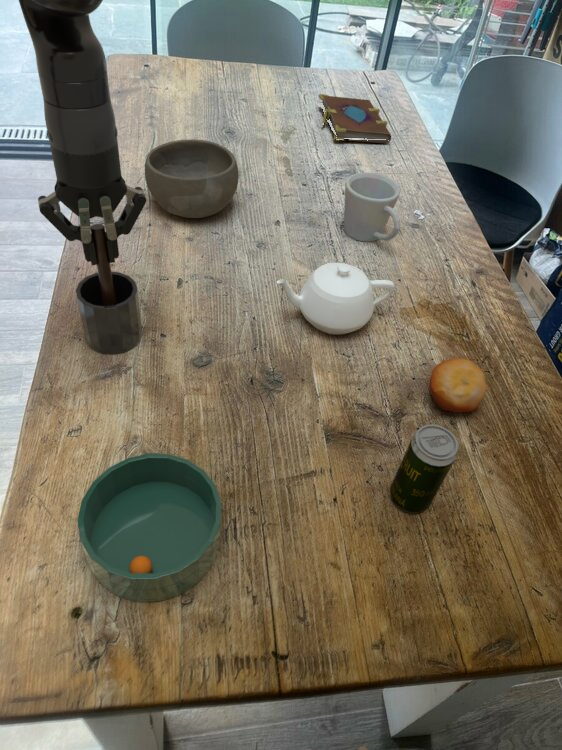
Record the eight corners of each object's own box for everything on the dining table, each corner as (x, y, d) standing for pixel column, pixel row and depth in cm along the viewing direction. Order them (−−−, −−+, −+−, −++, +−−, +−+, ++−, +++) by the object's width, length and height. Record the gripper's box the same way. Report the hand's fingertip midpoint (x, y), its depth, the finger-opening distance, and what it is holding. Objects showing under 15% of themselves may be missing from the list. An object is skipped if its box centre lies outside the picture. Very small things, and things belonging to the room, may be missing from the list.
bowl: (143, 184, 120) (139, 137, 113) (228, 181, 124) (229, 135, 117) (152, 231, 109) (148, 182, 102) (244, 226, 113) (247, 179, 106)
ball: (129, 566, 61) (141, 548, 63) (122, 574, 63) (134, 556, 65) (147, 578, 61) (159, 560, 63) (140, 586, 63) (151, 568, 65)
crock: (89, 359, 86) (80, 312, 79) (81, 321, 91) (72, 275, 84) (146, 349, 88) (142, 303, 82) (136, 313, 93) (131, 267, 87)
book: (364, 106, 161) (369, 88, 157) (390, 149, 145) (395, 129, 141) (308, 101, 157) (311, 82, 154) (327, 144, 141) (331, 123, 137)
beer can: (417, 475, 77) (445, 418, 68) (437, 509, 74) (469, 455, 65) (381, 484, 76) (405, 427, 67) (400, 520, 72) (427, 465, 64)
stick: (106, 331, 85) (88, 229, 75) (109, 324, 87) (92, 223, 77) (118, 331, 85) (102, 230, 75) (121, 324, 87) (105, 224, 77)
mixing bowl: (96, 621, 61) (88, 598, 56) (78, 498, 70) (70, 471, 66) (236, 578, 65) (238, 554, 61) (201, 469, 75) (201, 441, 70)
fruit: (468, 366, 90) (491, 354, 83) (470, 417, 89) (494, 409, 81) (417, 364, 90) (436, 352, 82) (419, 415, 88) (438, 407, 80)
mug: (369, 213, 121) (380, 168, 114) (411, 253, 113) (426, 207, 105) (327, 222, 117) (335, 176, 110) (367, 264, 109) (379, 217, 101)
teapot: (278, 345, 92) (285, 294, 84) (266, 294, 100) (271, 245, 92) (397, 338, 95) (414, 290, 88) (376, 290, 104) (389, 242, 96)
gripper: (137, 118, 71) (147, 239, 84) (17, 125, 67) (46, 251, 80) (149, 147, 66) (158, 270, 79) (21, 156, 62) (52, 284, 75)
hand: (102, 260), depth 79 cm, fingers closed on stick, 2 cm apart
